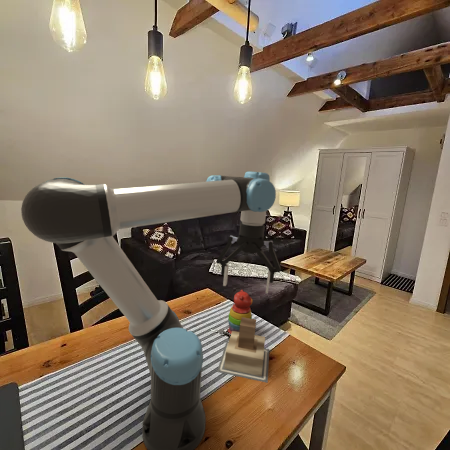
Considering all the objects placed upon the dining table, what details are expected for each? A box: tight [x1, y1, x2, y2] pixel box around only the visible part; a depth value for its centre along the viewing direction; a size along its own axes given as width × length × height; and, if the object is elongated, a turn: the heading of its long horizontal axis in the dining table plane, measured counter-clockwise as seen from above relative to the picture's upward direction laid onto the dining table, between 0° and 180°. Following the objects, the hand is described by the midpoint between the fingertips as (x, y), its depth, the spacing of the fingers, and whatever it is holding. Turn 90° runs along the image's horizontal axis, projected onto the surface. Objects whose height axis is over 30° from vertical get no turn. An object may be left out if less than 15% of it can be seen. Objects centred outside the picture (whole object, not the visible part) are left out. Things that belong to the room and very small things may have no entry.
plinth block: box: [224, 331, 266, 376], centre depth 87 cm, size 12×12×6 cm
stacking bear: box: [227, 289, 254, 334], centre depth 101 cm, size 11×10×18 cm
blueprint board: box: [216, 340, 270, 383], centre depth 87 cm, size 16×16×1 cm
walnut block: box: [238, 317, 257, 350], centre depth 85 cm, size 5×5×8 cm
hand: (245, 288), depth 82 cm, fingers open, 13 cm apart
